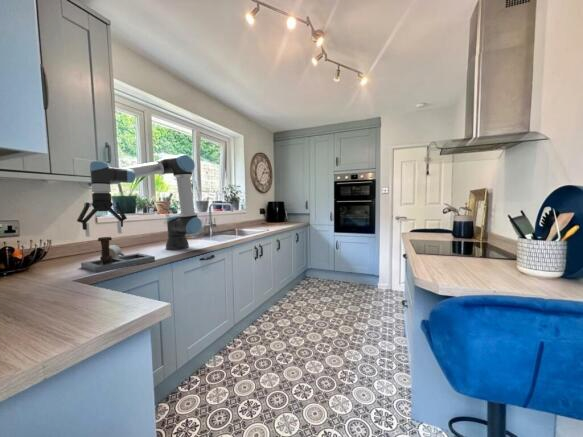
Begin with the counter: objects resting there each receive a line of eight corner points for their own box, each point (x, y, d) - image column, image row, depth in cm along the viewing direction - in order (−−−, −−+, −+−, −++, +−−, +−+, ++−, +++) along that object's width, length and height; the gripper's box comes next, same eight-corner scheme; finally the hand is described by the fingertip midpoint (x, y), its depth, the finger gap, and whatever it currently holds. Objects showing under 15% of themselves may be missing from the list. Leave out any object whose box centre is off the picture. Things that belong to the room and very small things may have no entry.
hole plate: (138, 257, 145) (138, 253, 145) (154, 260, 135) (154, 256, 135) (81, 267, 123) (80, 262, 123) (95, 272, 113) (95, 267, 112)
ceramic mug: (100, 260, 139) (99, 247, 138) (107, 257, 147) (106, 245, 146) (121, 259, 142) (120, 246, 141) (126, 256, 149) (126, 244, 149)
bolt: (105, 268, 121) (103, 238, 120) (97, 267, 122) (95, 238, 121) (115, 265, 126) (114, 236, 126) (107, 264, 127) (106, 236, 127)
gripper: (126, 193, 134) (128, 231, 136) (66, 192, 114) (69, 237, 115) (132, 193, 130) (134, 232, 131) (71, 191, 109) (75, 238, 111)
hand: (104, 234), depth 123 cm, fingers open, 13 cm apart
